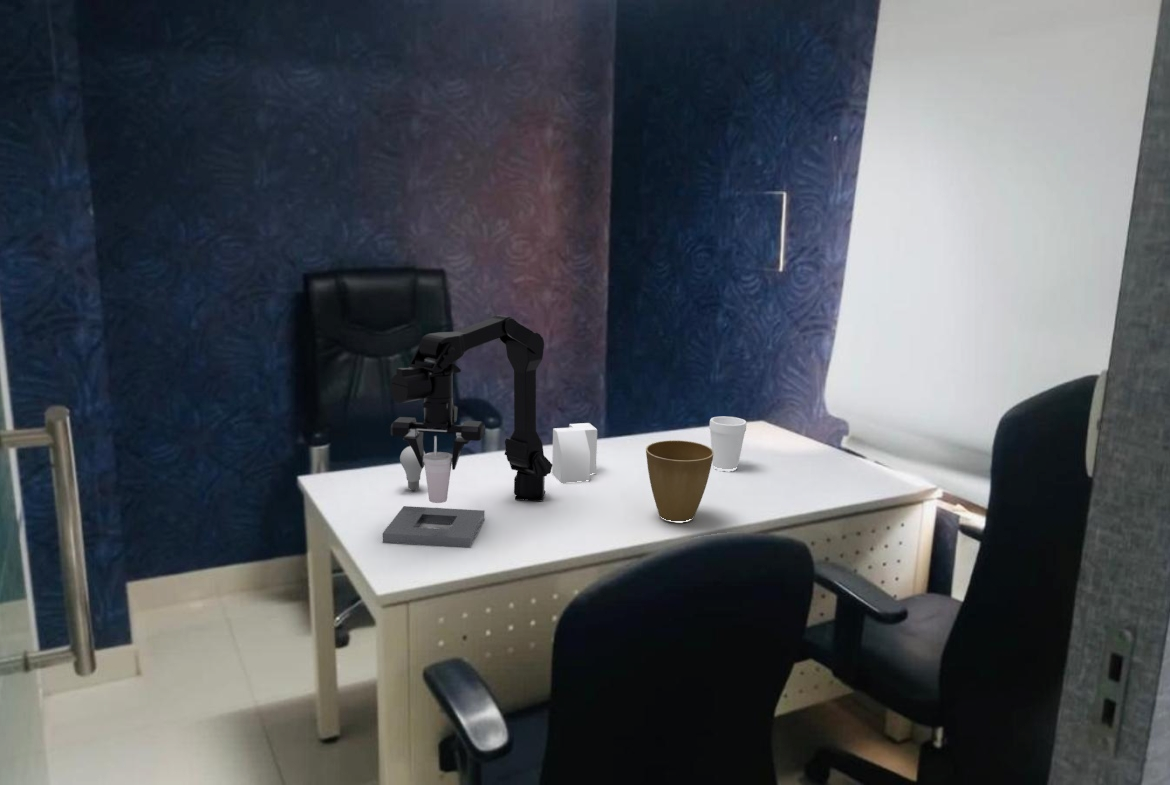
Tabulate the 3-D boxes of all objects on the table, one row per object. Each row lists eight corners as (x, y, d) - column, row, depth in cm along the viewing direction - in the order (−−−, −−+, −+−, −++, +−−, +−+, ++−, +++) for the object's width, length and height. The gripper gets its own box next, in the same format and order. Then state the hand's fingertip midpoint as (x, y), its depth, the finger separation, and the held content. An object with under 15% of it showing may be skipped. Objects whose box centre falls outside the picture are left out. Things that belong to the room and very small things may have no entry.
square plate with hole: (484, 519, 197) (484, 510, 196) (470, 547, 181) (470, 538, 181) (403, 514, 198) (403, 506, 198) (382, 542, 182) (382, 533, 182)
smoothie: (424, 494, 192) (424, 431, 189) (454, 495, 193) (454, 432, 190) (421, 505, 186) (421, 439, 183) (452, 505, 187) (452, 440, 184)
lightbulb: (421, 495, 210) (420, 450, 208) (396, 493, 211) (395, 448, 209) (430, 487, 216) (430, 443, 214) (406, 485, 217) (405, 441, 215)
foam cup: (748, 467, 239) (752, 420, 236) (734, 476, 232) (738, 427, 229) (715, 460, 244) (718, 414, 241) (701, 469, 237) (704, 421, 234)
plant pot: (641, 505, 208) (644, 438, 205) (705, 507, 208) (710, 441, 204) (643, 529, 194) (647, 458, 190) (712, 531, 194) (717, 460, 190)
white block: (587, 467, 236) (588, 422, 233) (601, 480, 225) (603, 434, 223) (548, 469, 232) (549, 425, 230) (561, 483, 222) (562, 436, 219)
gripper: (490, 389, 192) (489, 460, 195) (404, 385, 193) (404, 455, 196) (480, 401, 181) (479, 475, 184) (389, 396, 182) (390, 470, 186)
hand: (438, 468), depth 188 cm, fingers closed on smoothie, 6 cm apart
